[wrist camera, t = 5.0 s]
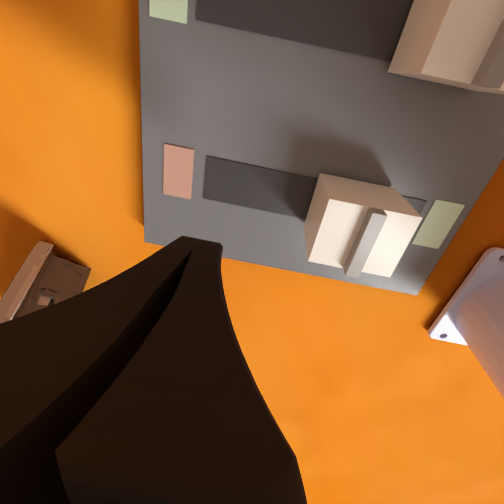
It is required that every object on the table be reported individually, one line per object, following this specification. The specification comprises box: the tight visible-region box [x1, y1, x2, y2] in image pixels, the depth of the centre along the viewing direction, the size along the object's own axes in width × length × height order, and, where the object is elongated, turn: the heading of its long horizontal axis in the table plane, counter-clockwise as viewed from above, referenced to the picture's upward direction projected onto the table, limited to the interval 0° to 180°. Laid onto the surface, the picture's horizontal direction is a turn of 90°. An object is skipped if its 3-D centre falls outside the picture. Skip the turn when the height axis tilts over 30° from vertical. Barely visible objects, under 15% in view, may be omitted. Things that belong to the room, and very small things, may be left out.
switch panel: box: [139, 0, 504, 295], centre depth 15 cm, size 18×16×1 cm
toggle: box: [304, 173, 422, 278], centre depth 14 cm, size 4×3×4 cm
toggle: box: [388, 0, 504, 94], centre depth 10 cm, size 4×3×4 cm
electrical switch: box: [0, 241, 91, 323], centre depth 20 cm, size 9×5×9 cm, turn 146°
